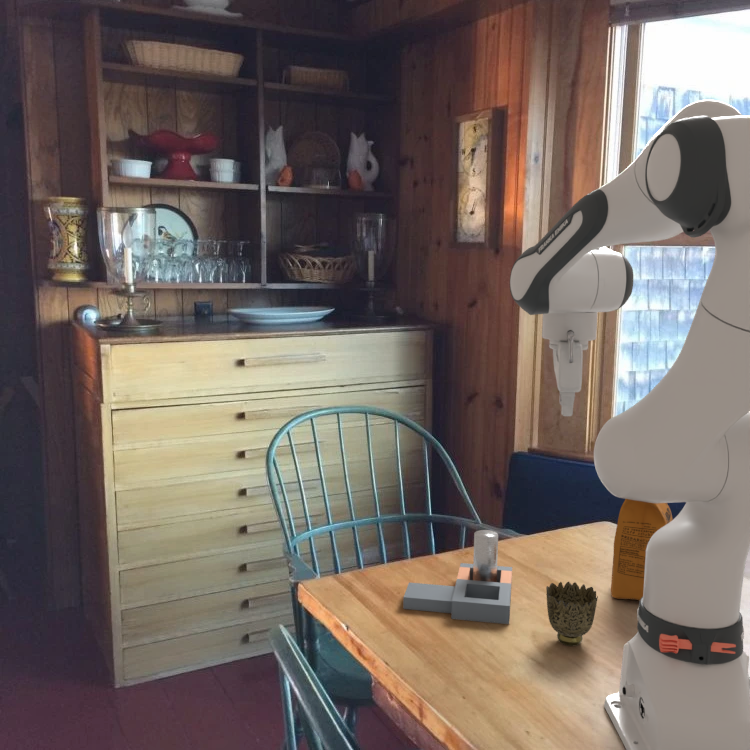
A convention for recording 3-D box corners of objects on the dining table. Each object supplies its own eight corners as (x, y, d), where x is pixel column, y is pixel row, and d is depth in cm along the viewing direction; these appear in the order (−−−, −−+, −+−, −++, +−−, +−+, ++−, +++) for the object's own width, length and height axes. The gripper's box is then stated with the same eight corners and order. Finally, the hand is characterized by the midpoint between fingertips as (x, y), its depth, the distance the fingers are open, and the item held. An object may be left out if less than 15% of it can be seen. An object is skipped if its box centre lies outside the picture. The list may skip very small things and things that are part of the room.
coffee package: (679, 586, 139) (688, 463, 136) (664, 612, 129) (672, 480, 126) (622, 574, 144) (628, 455, 141) (602, 598, 134) (609, 471, 131)
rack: (509, 624, 124) (509, 606, 124) (401, 614, 127) (401, 596, 127) (511, 583, 140) (512, 567, 139) (415, 575, 143) (415, 559, 143)
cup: (596, 656, 114) (599, 604, 113) (544, 651, 116) (546, 599, 115) (593, 633, 122) (596, 583, 120) (544, 628, 123) (546, 578, 122)
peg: (495, 596, 134) (497, 539, 132) (471, 593, 135) (473, 537, 133) (497, 586, 138) (499, 531, 136) (473, 583, 138) (475, 529, 137)
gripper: (593, 334, 122) (589, 423, 124) (585, 323, 142) (581, 400, 144) (551, 333, 123) (547, 421, 125) (548, 323, 143) (545, 399, 145)
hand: (565, 410), depth 135 cm, fingers open, 8 cm apart
